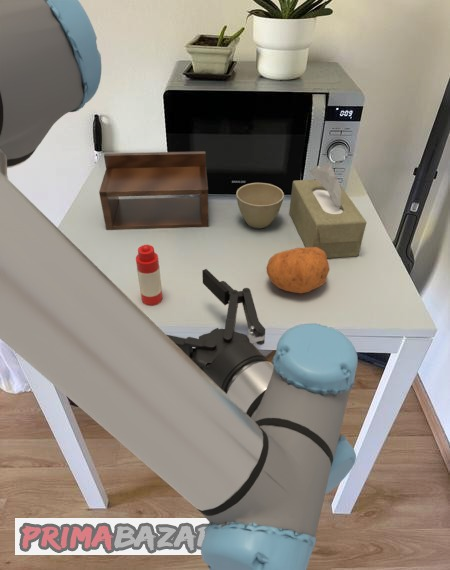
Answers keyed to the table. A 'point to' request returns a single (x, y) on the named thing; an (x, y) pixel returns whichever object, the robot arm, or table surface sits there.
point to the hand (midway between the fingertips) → (167, 290)
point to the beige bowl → (259, 203)
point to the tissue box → (326, 214)
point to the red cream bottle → (149, 275)
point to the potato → (298, 269)
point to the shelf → (154, 190)
